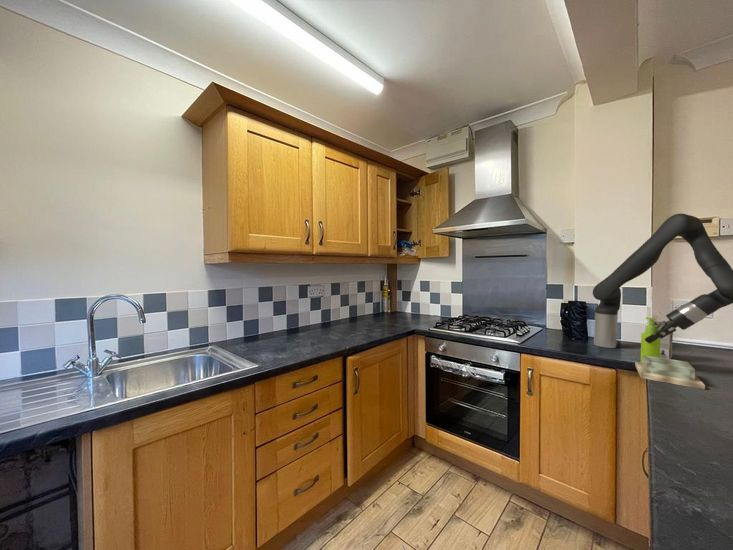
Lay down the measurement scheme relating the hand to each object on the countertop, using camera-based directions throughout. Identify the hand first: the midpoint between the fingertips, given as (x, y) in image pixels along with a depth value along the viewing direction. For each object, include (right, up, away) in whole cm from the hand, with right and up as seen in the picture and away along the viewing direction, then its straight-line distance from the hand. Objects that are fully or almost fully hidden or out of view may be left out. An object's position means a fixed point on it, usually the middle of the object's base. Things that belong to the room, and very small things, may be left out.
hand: (645, 339), depth 126 cm
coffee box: (+17, -11, +10) cm, 22 cm away
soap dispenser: (+1, -11, -1) cm, 11 cm away
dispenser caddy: (-6, -11, -14) cm, 19 cm away
